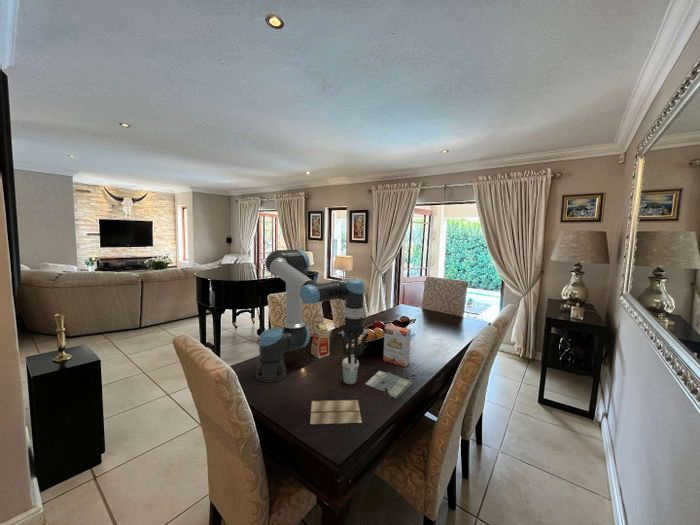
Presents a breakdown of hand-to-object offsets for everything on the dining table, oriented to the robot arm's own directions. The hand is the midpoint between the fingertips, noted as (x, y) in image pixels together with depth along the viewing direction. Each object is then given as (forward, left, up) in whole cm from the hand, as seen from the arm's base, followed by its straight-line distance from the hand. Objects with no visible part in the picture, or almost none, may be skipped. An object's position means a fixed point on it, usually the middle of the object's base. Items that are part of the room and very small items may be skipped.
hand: (352, 370), depth 123 cm
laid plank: (-7, -10, -16) cm, 20 cm away
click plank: (-7, -2, -16) cm, 18 cm away
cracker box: (+30, +41, -16) cm, 54 cm away
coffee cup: (+1, +18, -16) cm, 25 cm away
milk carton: (-14, +54, -16) cm, 59 cm away
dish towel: (+20, +16, -17) cm, 31 cm away
